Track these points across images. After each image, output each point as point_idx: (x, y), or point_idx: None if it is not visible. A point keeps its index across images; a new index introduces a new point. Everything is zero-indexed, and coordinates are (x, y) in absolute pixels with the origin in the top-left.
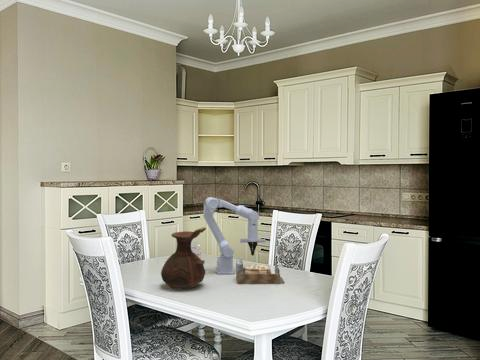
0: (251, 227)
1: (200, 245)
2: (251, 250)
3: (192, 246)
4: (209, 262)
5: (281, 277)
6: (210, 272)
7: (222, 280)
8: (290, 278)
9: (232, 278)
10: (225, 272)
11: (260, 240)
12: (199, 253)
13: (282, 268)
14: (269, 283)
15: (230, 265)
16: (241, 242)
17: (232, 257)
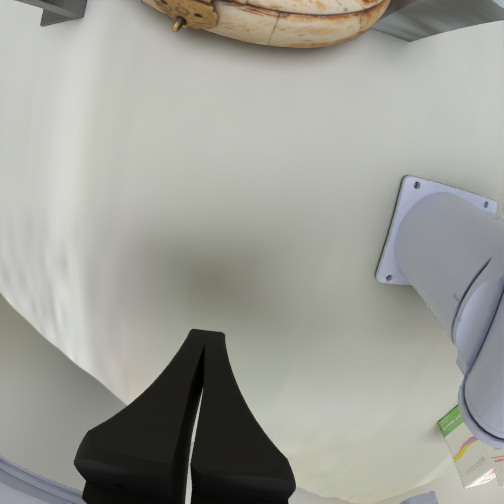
0: None
1: (469, 483)
2: (222, 378)
3: (502, 463)
4: (397, 440)
5: (44, 10)
6: None
7: (492, 24)
8: (5, 15)
9: (435, 41)
10: (458, 196)
11: (5, 493)
12: (469, 447)
13: (23, 299)
14: None
15: (456, 218)
16: (416, 499)
17: (470, 284)
